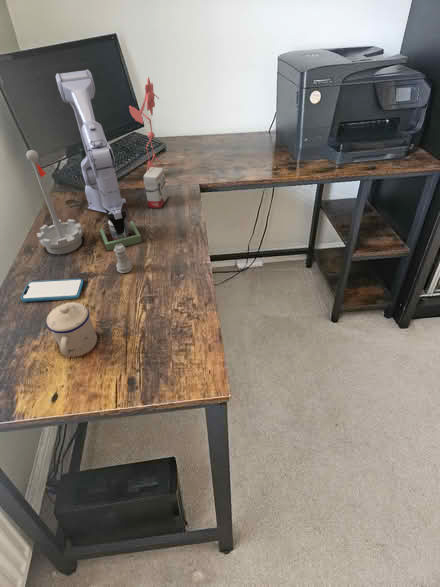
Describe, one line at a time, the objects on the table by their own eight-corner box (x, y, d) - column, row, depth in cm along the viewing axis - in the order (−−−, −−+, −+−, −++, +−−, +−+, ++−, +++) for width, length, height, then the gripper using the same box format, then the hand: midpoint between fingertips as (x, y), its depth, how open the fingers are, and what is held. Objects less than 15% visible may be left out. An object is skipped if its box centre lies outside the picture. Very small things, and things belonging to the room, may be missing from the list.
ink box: (161, 208, 137) (156, 177, 129) (148, 207, 138) (142, 176, 130) (168, 197, 144) (164, 167, 136) (155, 196, 144) (151, 166, 137)
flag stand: (35, 245, 122) (-5, 152, 102) (71, 228, 129) (41, 138, 109) (56, 261, 115) (17, 164, 95) (93, 242, 122) (64, 148, 102)
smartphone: (77, 296, 101) (19, 299, 101) (79, 299, 102) (21, 302, 101) (83, 278, 107) (28, 281, 106) (84, 281, 108) (30, 284, 107)
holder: (101, 235, 125) (99, 228, 124) (134, 227, 128) (132, 220, 127) (107, 250, 118) (105, 244, 117) (141, 241, 122) (140, 235, 120)
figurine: (138, 185, 152) (120, 88, 129) (151, 159, 172) (137, 71, 149) (177, 185, 151) (165, 86, 128) (185, 159, 170) (176, 69, 147)
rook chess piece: (135, 266, 112) (130, 243, 107) (127, 275, 109) (121, 252, 104) (121, 263, 113) (116, 240, 108) (114, 272, 110) (107, 249, 105)
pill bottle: (122, 231, 127) (116, 207, 121) (132, 236, 124) (126, 212, 118) (109, 238, 124) (102, 214, 118) (119, 243, 121) (113, 219, 115)
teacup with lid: (64, 330, 93) (48, 294, 86) (101, 327, 93) (89, 291, 86) (50, 370, 84) (31, 334, 77) (92, 367, 84) (77, 331, 77)
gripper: (128, 195, 109) (136, 236, 118) (116, 176, 119) (125, 215, 128) (103, 201, 107) (114, 242, 116) (94, 181, 117) (104, 220, 126)
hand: (118, 228), depth 122 cm, fingers closed on pill bottle, 5 cm apart
